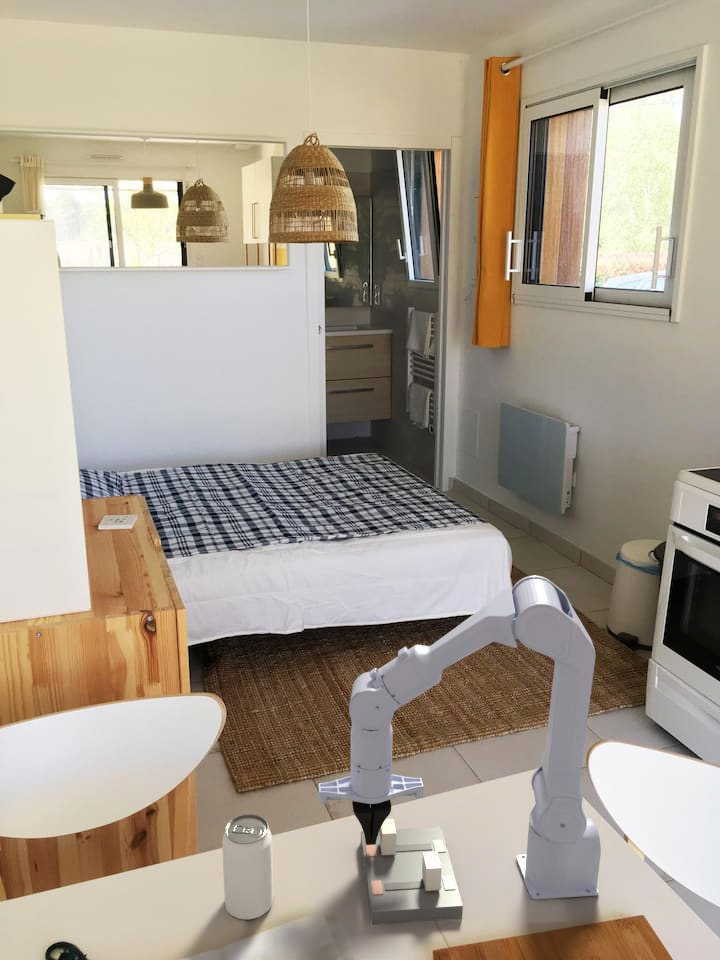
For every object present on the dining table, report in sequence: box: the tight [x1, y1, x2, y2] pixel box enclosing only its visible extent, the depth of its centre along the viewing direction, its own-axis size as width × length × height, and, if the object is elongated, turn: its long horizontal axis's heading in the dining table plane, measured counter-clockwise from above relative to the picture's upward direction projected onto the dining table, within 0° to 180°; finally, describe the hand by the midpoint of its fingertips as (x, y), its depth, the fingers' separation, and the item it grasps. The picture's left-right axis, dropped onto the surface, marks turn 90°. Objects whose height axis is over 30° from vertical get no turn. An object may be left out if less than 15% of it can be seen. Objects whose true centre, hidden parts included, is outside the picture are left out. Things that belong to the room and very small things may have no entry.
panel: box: [360, 826, 464, 925], centre depth 115 cm, size 12×15×2 cm
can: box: [221, 813, 274, 921], centre depth 109 cm, size 6×6×12 cm
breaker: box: [422, 852, 442, 891], centre depth 110 cm, size 2×3×4 cm, turn 5°
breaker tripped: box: [379, 818, 396, 855], centre depth 117 cm, size 2×3×4 cm, turn 6°
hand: (370, 839), depth 117 cm, fingers closed
